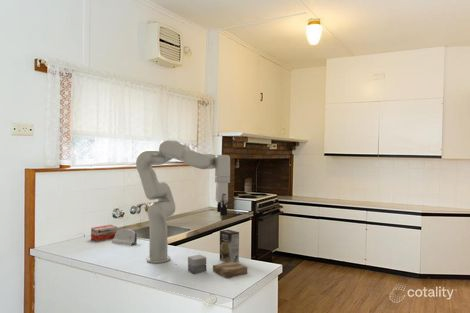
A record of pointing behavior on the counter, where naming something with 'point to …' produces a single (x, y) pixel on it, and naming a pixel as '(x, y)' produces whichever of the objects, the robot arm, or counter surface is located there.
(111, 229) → the medicine box
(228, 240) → the coffee box
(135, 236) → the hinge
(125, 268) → the counter surface
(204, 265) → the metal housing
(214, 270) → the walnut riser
